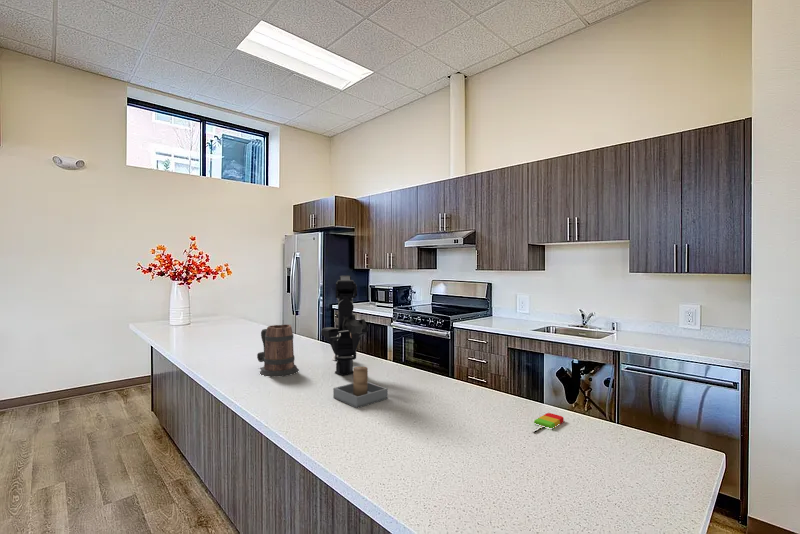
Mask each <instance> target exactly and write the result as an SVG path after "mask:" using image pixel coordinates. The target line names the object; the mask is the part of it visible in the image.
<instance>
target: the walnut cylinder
mask: <svg viewBox="0 0 800 534" xmlns="http://www.w3.org/2000/svg"><path fill="white" fill-rule="evenodd" d="M368 372H369V371H368V367H367V366H355V367H353V373H352V376H353V382H352V383H353V395H355V396H361V395H364V394H368V382H369V381H368V380H369V379H368V376H369V375H368V374H369V373H368Z"/></svg>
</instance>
